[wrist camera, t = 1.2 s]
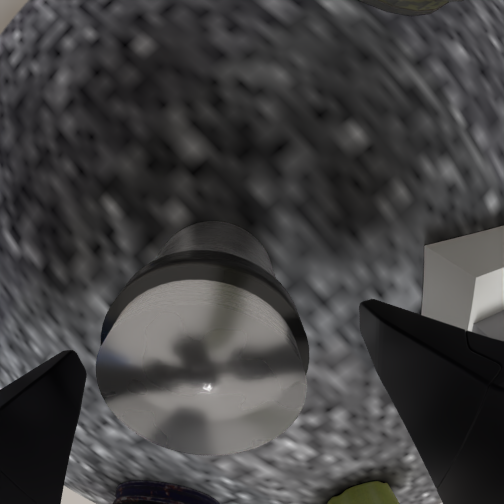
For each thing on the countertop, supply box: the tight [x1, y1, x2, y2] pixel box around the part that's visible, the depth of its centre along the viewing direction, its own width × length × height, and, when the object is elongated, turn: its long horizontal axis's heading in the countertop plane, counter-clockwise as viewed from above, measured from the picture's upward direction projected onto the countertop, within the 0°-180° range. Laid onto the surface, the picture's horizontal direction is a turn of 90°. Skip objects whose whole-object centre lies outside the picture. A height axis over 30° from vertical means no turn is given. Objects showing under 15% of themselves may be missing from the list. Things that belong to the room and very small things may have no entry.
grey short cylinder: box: [96, 221, 309, 455], centre depth 10 cm, size 6×6×7 cm
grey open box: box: [421, 226, 504, 341], centre depth 12 cm, size 9×13×6 cm
